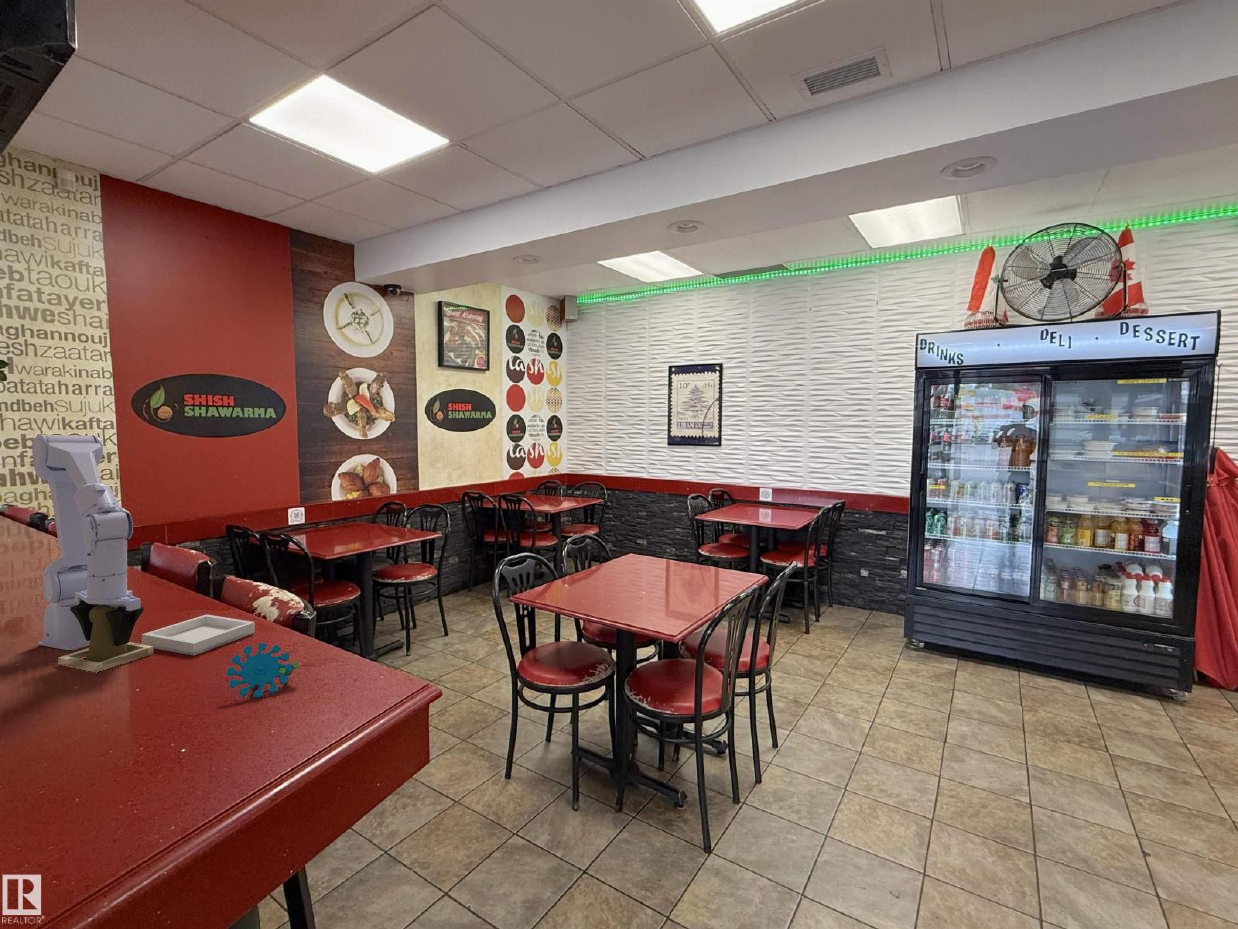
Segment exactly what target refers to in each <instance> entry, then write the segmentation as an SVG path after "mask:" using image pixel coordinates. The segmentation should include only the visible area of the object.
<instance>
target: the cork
mask: <svg viewBox="0 0 1238 929" xmlns="http://www.w3.org/2000/svg"><path fill="white" fill-rule="evenodd" d="M113 610H117V607H111V606H108V605H97V606H95V607H93V608H92V610H91V611H90V613H89V618H90V621H91V622H92V623H93V627H92V632H91V638H90V644H89V646H88V648H89V649H88V648H87V649H88V655H87V658H86V660H88V661H93V662H98V663H99V662H102V661H105V660H108V659H111V658H114V657H117V656H120V655H123V654H126V653H128V652H127V649H126V644H123V645H120V646H115V645H114V642H113V634H112V628H111V625H110V622H109V620H108V618H107V617H106V615H105V612H109V611H113Z"/></svg>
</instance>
